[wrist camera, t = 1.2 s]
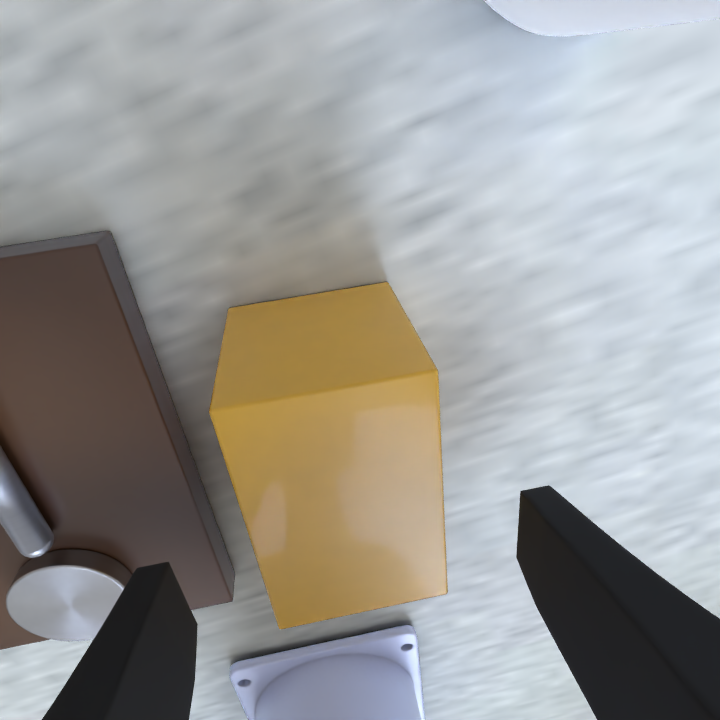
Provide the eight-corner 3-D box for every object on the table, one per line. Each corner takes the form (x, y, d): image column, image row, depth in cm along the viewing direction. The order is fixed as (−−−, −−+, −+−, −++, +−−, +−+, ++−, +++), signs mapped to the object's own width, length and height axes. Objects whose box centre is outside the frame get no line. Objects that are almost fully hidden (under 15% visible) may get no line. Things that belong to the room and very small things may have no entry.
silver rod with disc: (151, 609, 17) (145, 634, 17) (43, 631, 17) (33, 658, 16) (-17, 285, 12) (-38, 300, 11) (-185, 312, 11) (-219, 329, 10)
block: (405, 468, 18) (448, 594, 13) (277, 493, 17) (279, 631, 13) (388, 280, 14) (438, 369, 10) (227, 307, 14) (207, 410, 10)
